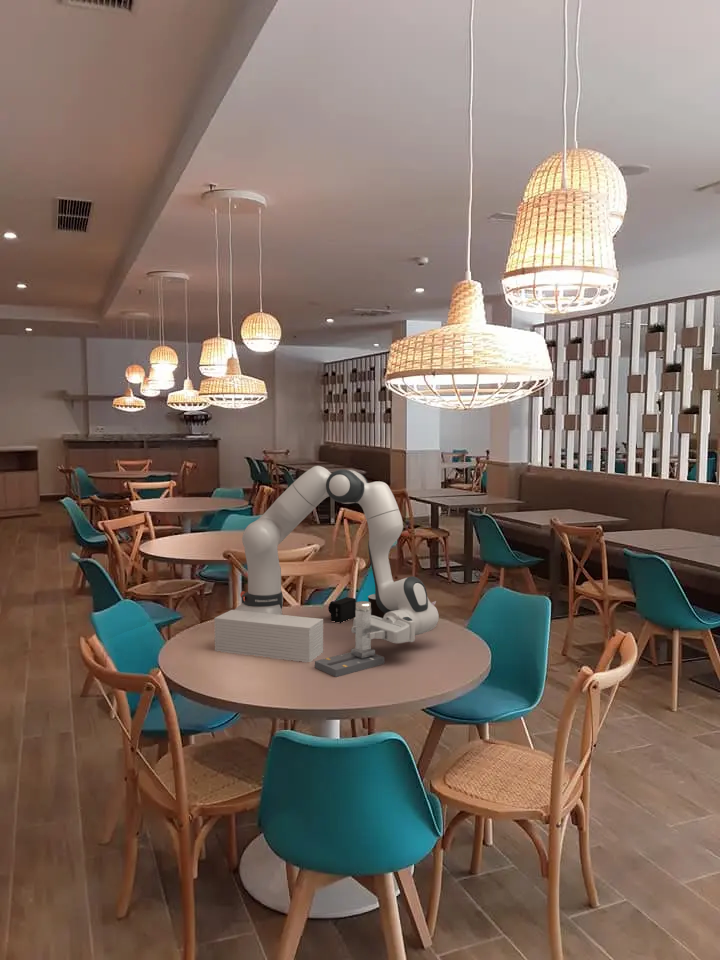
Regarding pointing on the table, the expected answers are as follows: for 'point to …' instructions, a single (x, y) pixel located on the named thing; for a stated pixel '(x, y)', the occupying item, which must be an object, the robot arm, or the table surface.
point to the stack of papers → (269, 635)
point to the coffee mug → (375, 607)
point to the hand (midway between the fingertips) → (360, 633)
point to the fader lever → (363, 630)
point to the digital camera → (342, 609)
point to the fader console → (347, 664)
